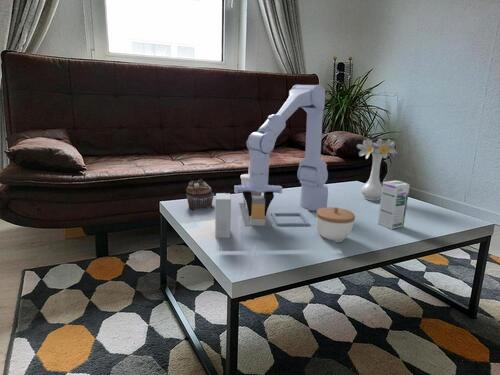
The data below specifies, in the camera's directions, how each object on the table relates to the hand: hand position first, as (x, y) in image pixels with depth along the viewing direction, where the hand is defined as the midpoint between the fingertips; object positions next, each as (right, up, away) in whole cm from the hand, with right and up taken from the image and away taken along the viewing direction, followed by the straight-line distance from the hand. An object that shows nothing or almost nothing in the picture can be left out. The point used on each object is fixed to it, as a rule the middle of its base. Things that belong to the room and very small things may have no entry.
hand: (257, 214), depth 108 cm
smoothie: (-3, +4, +26) cm, 26 cm away
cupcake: (-20, +1, +15) cm, 25 cm away
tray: (+11, -3, +4) cm, 12 cm away
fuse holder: (-1, -1, +8) cm, 9 cm away
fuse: (-1, 0, +8) cm, 8 cm away
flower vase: (+47, +4, +35) cm, 59 cm away
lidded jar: (+22, -6, -7) cm, 24 cm away
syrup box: (+44, -4, +5) cm, 44 cm away
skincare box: (-10, -6, -9) cm, 15 cm away
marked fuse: (0, -2, +1) cm, 2 cm away
